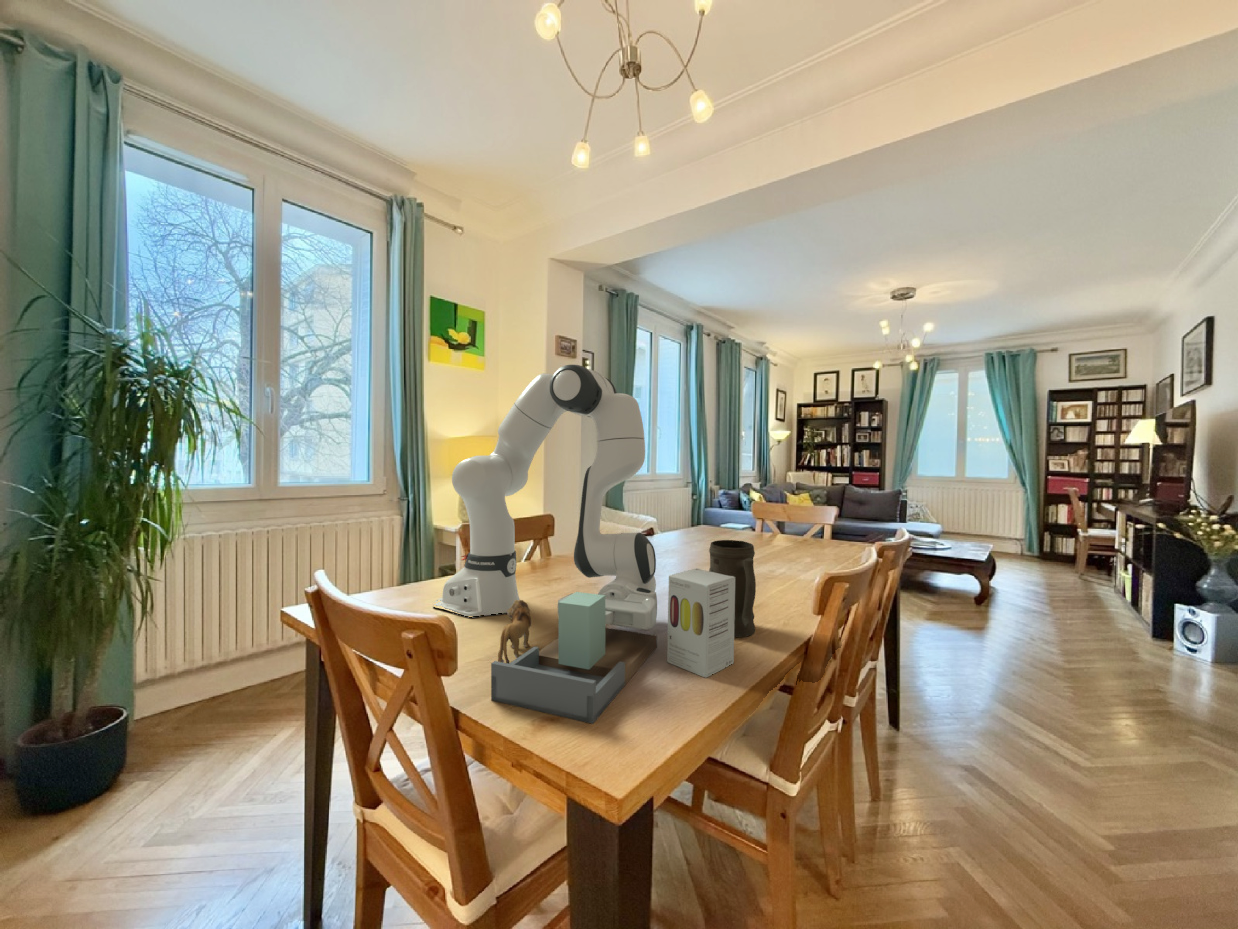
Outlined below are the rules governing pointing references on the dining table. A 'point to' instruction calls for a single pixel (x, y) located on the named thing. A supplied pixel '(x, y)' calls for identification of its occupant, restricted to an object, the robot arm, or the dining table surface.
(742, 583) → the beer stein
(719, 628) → the supplement box
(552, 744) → the dining table surface
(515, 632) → the lion figurine
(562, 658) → the sage block
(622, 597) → the robot arm
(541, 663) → the brown wooden board
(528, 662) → the box
